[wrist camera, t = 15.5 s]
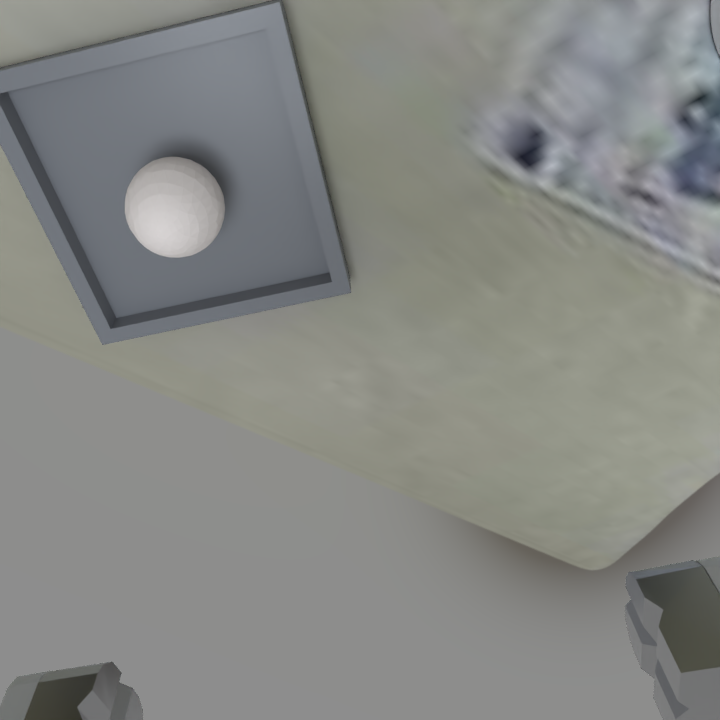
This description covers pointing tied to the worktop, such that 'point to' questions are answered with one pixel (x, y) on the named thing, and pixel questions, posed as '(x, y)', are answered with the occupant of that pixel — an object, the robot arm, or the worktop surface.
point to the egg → (174, 207)
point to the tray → (186, 140)
